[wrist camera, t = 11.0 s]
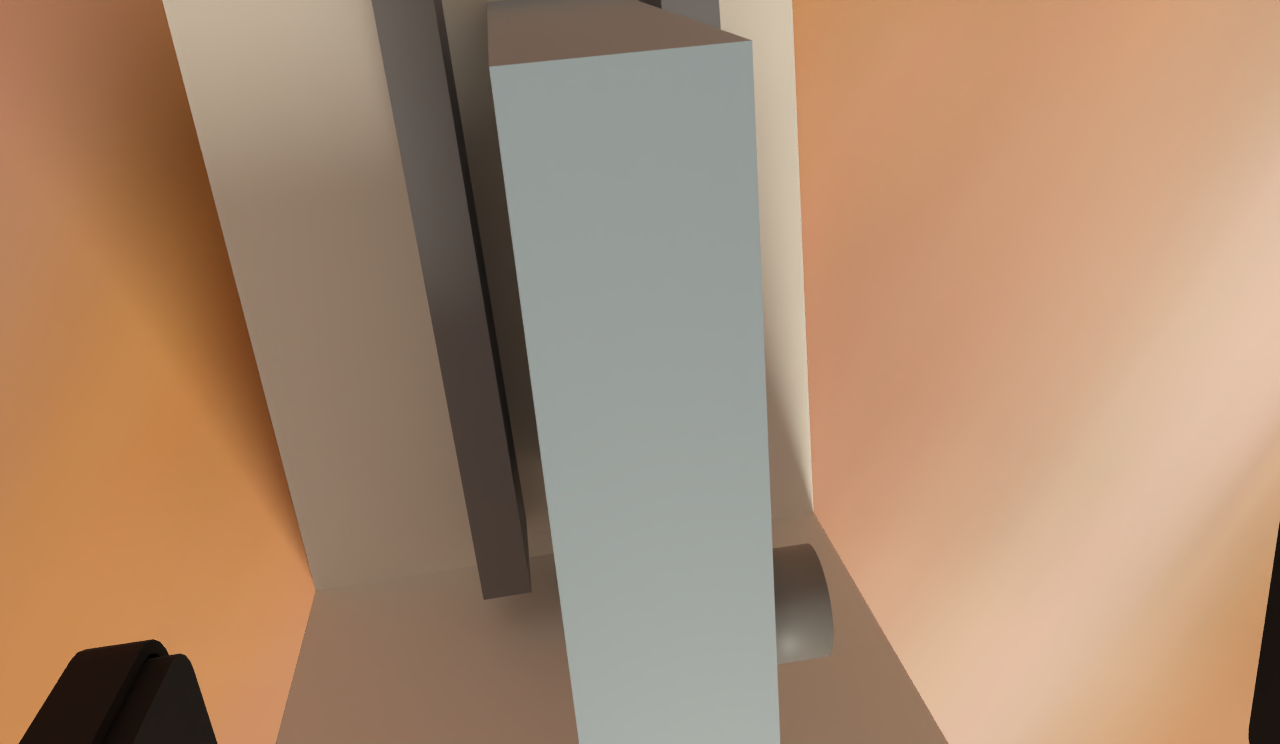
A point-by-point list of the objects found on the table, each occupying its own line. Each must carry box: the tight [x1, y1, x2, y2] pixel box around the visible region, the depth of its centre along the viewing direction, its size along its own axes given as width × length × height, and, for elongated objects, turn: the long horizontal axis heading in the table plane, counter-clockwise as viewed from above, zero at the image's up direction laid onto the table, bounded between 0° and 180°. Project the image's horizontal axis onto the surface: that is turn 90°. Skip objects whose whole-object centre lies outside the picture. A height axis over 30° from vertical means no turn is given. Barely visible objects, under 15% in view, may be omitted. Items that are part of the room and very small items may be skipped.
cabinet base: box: [162, 0, 948, 744], centre depth 17 cm, size 12×18×13 cm, turn 6°
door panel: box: [487, 0, 834, 744], centre depth 17 cm, size 4×10×12 cm, turn 5°
